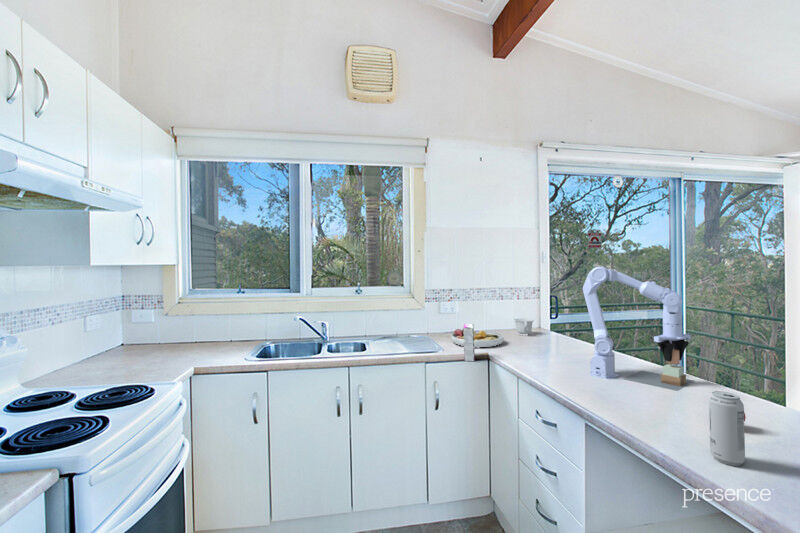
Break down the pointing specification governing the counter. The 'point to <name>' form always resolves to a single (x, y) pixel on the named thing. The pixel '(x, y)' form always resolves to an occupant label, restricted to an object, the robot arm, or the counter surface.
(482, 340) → the bowl
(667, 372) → the sage top block
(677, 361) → the terracotta cylinder
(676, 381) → the walnut base block
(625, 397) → the counter surface
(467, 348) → the candy bar box
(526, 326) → the white planter pot
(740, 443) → the energy drink can
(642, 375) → the rubber mat
